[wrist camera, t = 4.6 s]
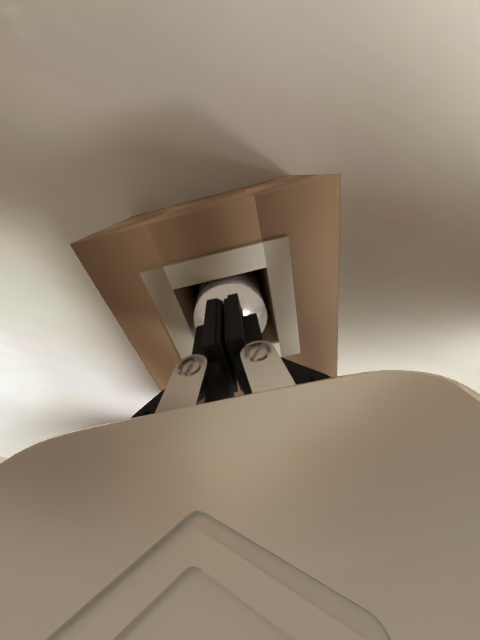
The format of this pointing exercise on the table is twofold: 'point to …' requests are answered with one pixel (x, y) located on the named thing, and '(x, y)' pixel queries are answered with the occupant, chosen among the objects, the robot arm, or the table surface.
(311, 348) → the peg block
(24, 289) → the table surface
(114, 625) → the robot arm
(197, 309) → the peg
